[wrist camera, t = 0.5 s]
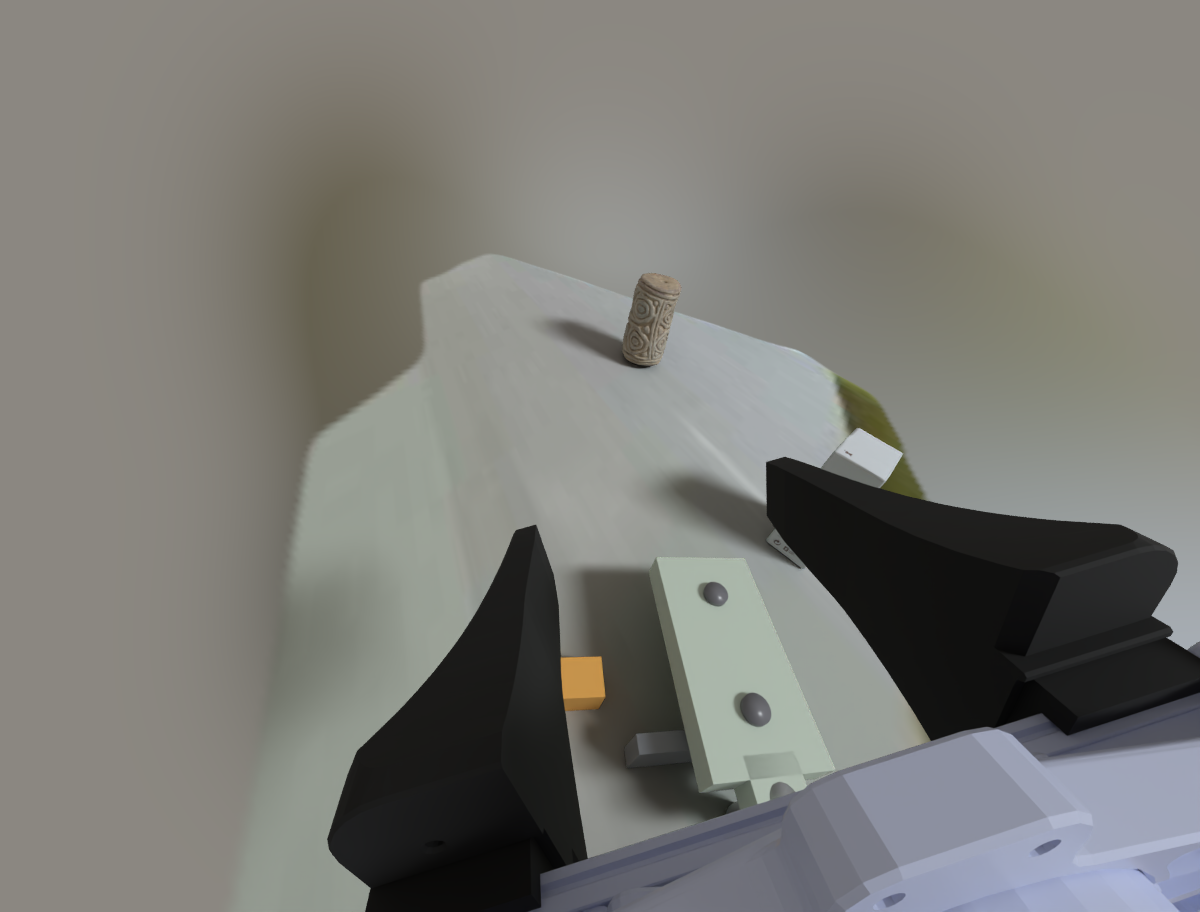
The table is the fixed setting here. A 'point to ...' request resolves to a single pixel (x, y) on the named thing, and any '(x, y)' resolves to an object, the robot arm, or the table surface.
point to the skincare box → (852, 471)
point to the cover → (734, 683)
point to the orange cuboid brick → (582, 683)
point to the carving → (650, 319)
